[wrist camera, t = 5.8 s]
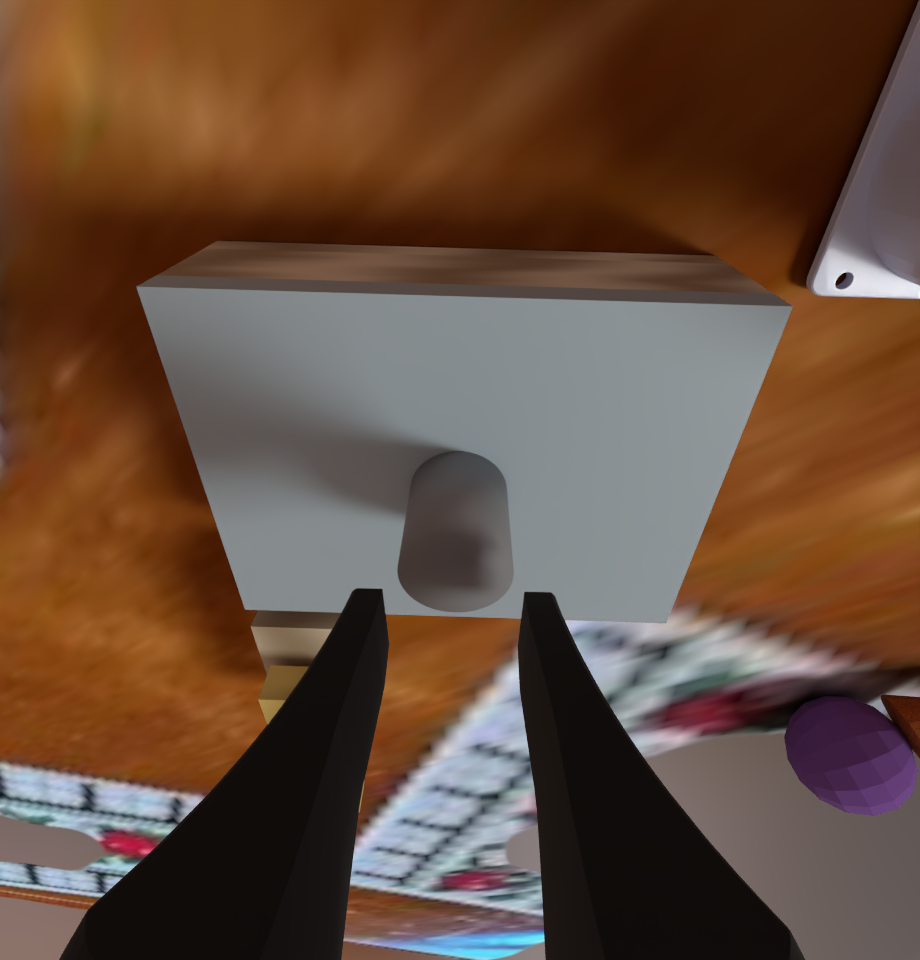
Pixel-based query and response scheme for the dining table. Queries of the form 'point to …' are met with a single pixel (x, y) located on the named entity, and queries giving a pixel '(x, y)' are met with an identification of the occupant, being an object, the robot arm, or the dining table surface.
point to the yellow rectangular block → (280, 689)
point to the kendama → (856, 751)
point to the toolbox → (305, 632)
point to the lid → (460, 436)
